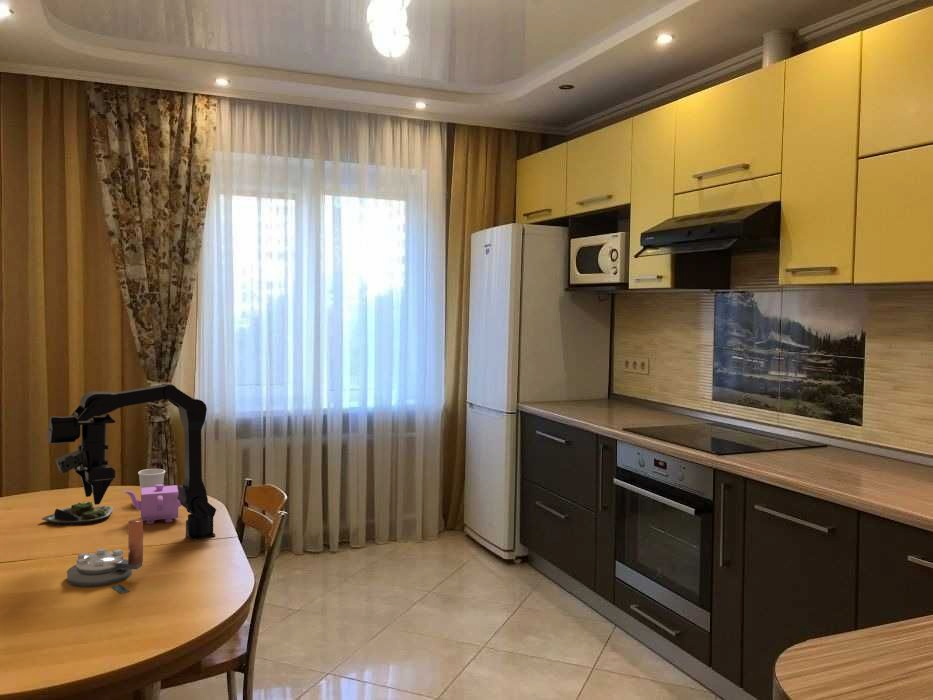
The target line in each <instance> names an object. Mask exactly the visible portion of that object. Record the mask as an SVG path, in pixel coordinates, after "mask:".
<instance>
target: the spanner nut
mask: <svg viewBox="0 0 933 700" xmlns="http://www.w3.org/2000/svg"><path fill="white" fill-rule="evenodd" d="M127 524H128V527H127V534H128V535H127V536H128V537H127V541H128V542H127V543H128V544H127V549H128V550H127V553H128V554H127V557H128V558H127V560H123V559H124V551H123V550H122V549H120V548H118V549H114V550H112V551H107V550H106V549H107V548H105V547H104V548H97V550H96V552H93V553H89V552H81V553H80V554H78V555H77V559H76V564H77V571H78V572H79V573H82V574H102V573H107V572H111V571H114V570H117V569H119V568H122V569H132V570H136V571H137V570H138V569H140V568H141V567H143V563H144V521H143V520H141V518H140V519H139V518H135V519H131V520H129V521H128V523H127Z"/></svg>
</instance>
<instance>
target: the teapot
mask: <svg viewBox="0 0 933 700" xmlns="http://www.w3.org/2000/svg"><path fill="white" fill-rule="evenodd" d="M123 493H125V494H127V495H128V496H129V497H130V499H131V502H132V504H133V506H134V508H135V509H136V510H138V511H140V519H141V520H143V522H146V523H145V524H146V525H153V524H154V523H155V521H157V520H164V521H165V523H172V522H174V520H173V519H177V518H179V508H180V507H181V506H182V505H181V503H180V500H178V499H177V498H178V485H176V484H175V485H165V484H164V483H163V484H158V485H155V487H146V488H141V487H140V500H139V499H138V498H137V496H136V494H135V493H134V492H133V491H131V490H125V491H123Z"/></svg>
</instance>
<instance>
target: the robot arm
mask: <svg viewBox="0 0 933 700" xmlns="http://www.w3.org/2000/svg"><path fill="white" fill-rule="evenodd" d="M163 400H166V401H168V402H169V403H170V404H171V405H173V406H175V408H177V409H178V413H179V419H180V422H181V425H182V427H183V432H184V436H183V437H184V480H183V483H182V484H181V485H179V484H178V485H177V488H178V498H177V499H178V500H180V503H181V506H182V507H183V508H185V509H186V512H187V513H188V515H187V519H186V520H185V535H186V536H187V537H188V538H190V539H191V540H192V541H197V540H201V539H206V538H213V537H216V533H214V517H215V514H216V511H217V508H216V507H215V506H213V505H212V504H211V503H209V499H208V494H207V493H208V492H207V490H206V486H205V484H204V481H203V472H202V471H203V467H202V465H203V463H202V462H203V460H202V458H203V457H202V450H203V449H202V431H203V430H202V429H203V426H204V424H205V422H206V417H207V411H208V408H207V404H206V403H205V402H204V401H203V400H201V399H198V398H195V397H192V396H189V395H188V394H186V393H185V392H184V391H181V390H180V389H179V388H177V386H175V385H174V384H170V383H162V384H159V385H153V386H147V387H141V388H134V389H127V390H123V391H88V392H86V393H84V394H83V396H81V398H80V400H79V405H78V406H77V407H76V408H75V410H73V412H72V413H71V415H70V416H56V415H55V416H49V421H48V426H47V428H46V436H47V438H46V440H47V443H48V445H53V444H68V443H75V442H76V440H79V439H80V437H81V441H80V443H79V445H77V450H75V451H72V452H69V453H66V454H64V455H61V456H59V457H56V458H55V459H54V461H55V463H56V466H57V469H58V471H59V472H60V473H61V474H65V473H68V472H69V471H71V470H73V471H74V472H75V473H76V474H77V475H78V476H79V477H80V478H81V483H82V487H83V490H84V495H85V497H86V498H88V497H93V502H94V503H93V505H94V506H99V505H100V504H101V502H102V500H103V498H104V497H105V495H106V492H107V491H108V488H109V486H110V485H111V483H112V482H113V481H114V479H115V478H116V470H115V469H114V468H113V467H112V466H111V465H109V464H108V463H109V461H108V460H107V450H108V449H109V444H107V424H115V423H116V420H115V419H113V417H111V415H110V414H109V413H112V412H115V411H117V410H118V409H121V408H124V407H129V406H134V405H141V404H145V403H151V402H156V401H163Z"/></svg>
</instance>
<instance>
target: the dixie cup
mask: <svg viewBox="0 0 933 700" xmlns="http://www.w3.org/2000/svg"><path fill="white" fill-rule="evenodd" d="M165 473H166V470H165V469H161V468H148V469H147V468H146V469H142V470H139V471H138V472H137V474H138V476H139V478H138V479H139V485H140V487H139V488H140V489H141V488H146V487H155V485H158V484H163V485H164V478H165Z"/></svg>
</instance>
